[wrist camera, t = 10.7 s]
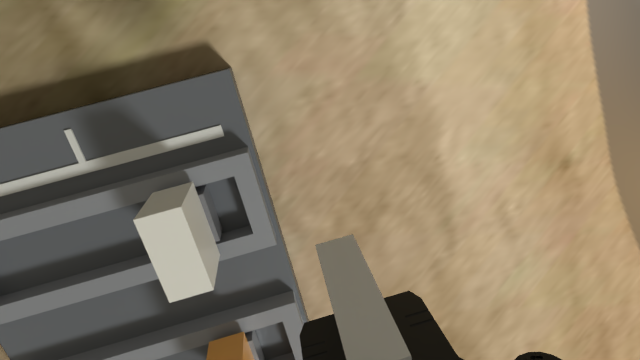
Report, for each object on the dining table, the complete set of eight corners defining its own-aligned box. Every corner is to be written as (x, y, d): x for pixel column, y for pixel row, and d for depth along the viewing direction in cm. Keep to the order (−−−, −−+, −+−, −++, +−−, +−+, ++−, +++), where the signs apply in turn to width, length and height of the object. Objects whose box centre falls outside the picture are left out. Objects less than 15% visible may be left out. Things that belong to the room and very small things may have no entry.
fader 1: (182, 252, 27) (163, 304, 22) (154, 184, 26) (126, 221, 20) (226, 240, 27) (219, 288, 22) (201, 171, 26) (187, 205, 20)
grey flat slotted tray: (91, 447, 34) (73, 491, 30) (-89, 150, 25) (-142, 166, 22) (325, 375, 35) (332, 409, 32) (231, 67, 26) (227, 70, 23)
